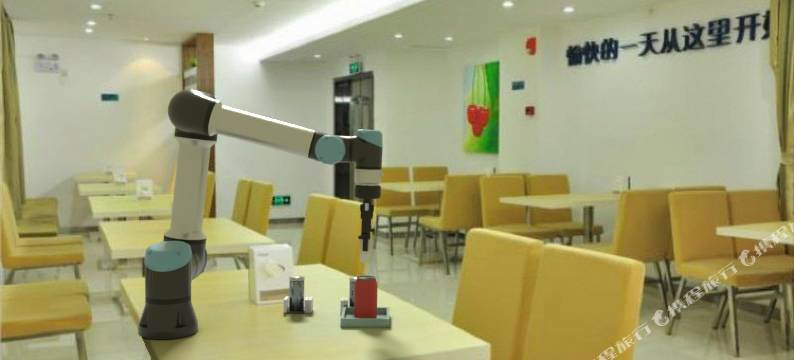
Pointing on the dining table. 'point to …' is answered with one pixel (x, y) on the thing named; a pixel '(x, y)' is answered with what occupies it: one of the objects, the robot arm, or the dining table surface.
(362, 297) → the beer can
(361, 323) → the tray
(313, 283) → the dining table surface
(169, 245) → the robot arm
